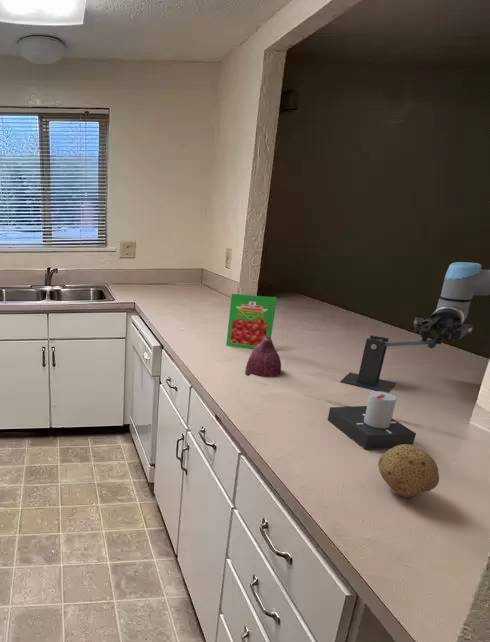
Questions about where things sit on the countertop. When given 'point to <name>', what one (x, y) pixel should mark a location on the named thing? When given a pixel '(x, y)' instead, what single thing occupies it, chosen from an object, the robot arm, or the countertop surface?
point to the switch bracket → (371, 367)
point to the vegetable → (264, 360)
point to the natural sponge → (408, 470)
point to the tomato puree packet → (250, 320)
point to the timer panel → (369, 429)
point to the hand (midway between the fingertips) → (432, 337)
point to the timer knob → (380, 409)
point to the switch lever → (414, 342)
